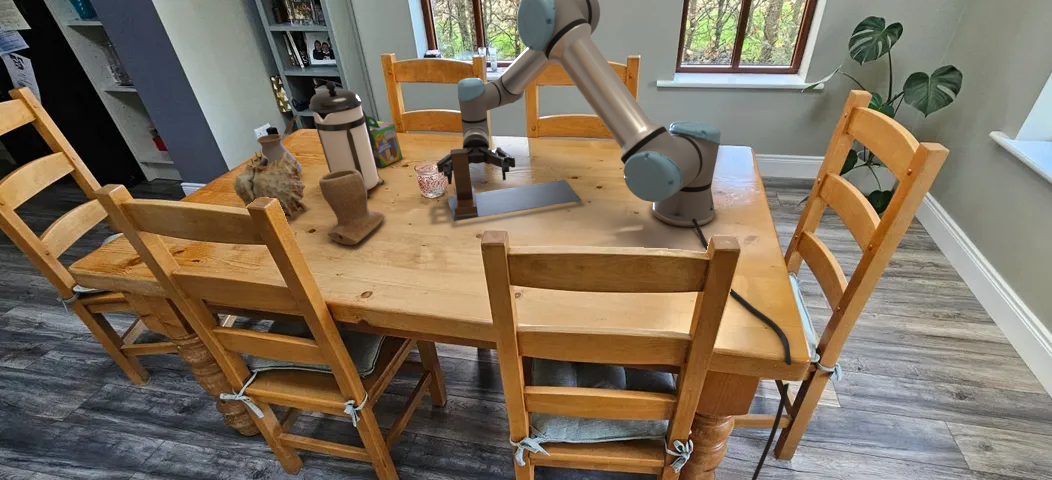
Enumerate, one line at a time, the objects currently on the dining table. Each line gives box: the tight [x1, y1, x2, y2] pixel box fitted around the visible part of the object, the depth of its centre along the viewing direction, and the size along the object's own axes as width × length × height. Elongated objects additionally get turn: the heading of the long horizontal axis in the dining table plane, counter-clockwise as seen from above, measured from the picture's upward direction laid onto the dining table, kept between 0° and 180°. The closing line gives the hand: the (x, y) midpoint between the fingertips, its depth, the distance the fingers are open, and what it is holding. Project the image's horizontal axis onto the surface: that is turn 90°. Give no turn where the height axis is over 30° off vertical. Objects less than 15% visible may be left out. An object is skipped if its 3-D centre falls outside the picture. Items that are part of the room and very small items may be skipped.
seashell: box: [232, 148, 308, 220], centre depth 125 cm, size 18×18×15 cm
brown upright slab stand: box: [450, 147, 478, 217], centre depth 124 cm, size 12×6×15 cm, turn 10°
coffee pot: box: [256, 114, 303, 175], centre depth 148 cm, size 21×12×15 cm, turn 172°
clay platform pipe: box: [318, 169, 386, 246], centre depth 117 cm, size 15×12×15 cm
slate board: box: [446, 179, 582, 222], centre depth 131 cm, size 14×34×2 cm, turn 108°
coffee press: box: [308, 81, 385, 199], centre depth 133 cm, size 17×16×30 cm
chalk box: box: [366, 115, 403, 169], centre depth 154 cm, size 9×9×15 cm
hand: (476, 177), depth 121 cm, fingers open, 13 cm apart
